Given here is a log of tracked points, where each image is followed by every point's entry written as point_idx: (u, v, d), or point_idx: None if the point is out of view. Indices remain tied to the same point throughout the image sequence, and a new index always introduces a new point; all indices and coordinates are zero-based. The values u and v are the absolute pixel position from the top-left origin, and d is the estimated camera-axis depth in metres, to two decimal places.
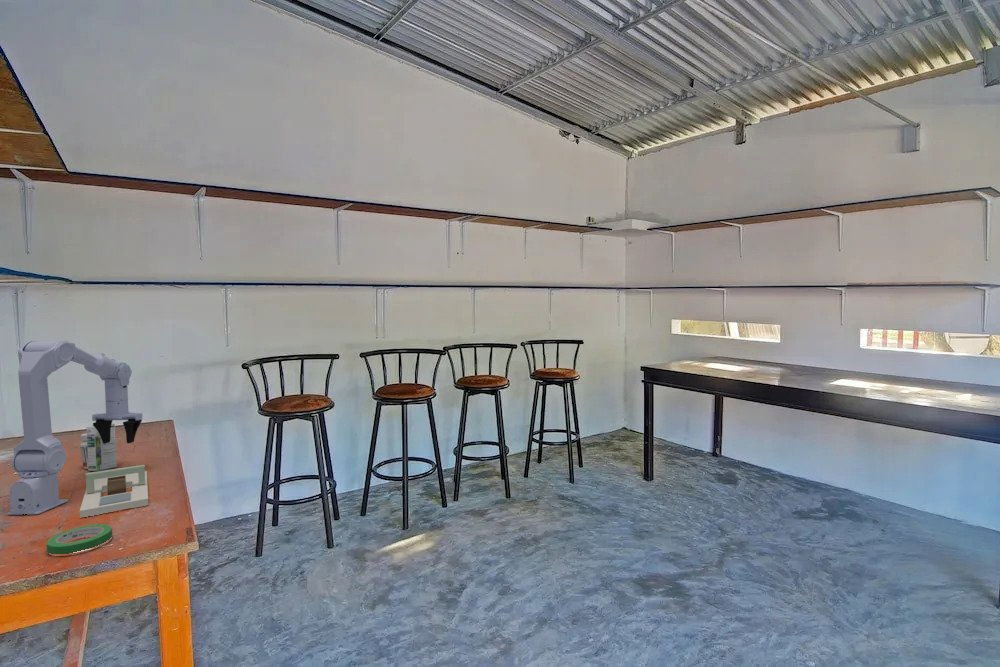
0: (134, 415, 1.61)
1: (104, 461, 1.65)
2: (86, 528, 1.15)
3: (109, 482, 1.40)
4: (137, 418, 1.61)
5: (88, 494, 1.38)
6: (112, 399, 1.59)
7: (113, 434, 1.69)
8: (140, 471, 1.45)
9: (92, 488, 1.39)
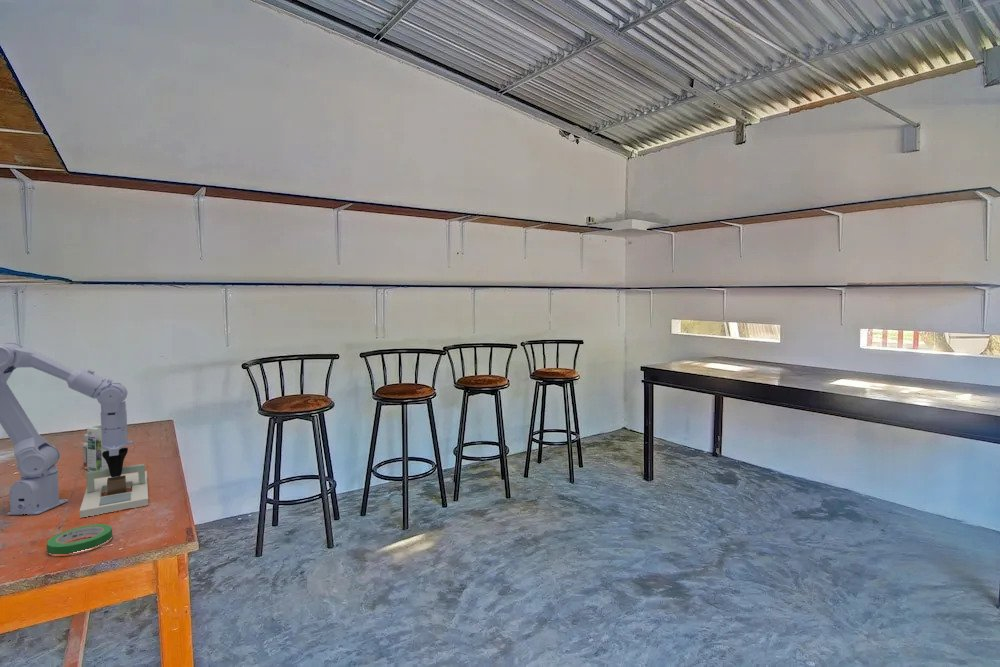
0: (108, 449, 1.36)
1: (104, 464, 1.65)
2: (86, 528, 1.15)
3: (109, 482, 1.40)
4: (109, 454, 1.35)
5: (88, 494, 1.38)
6: (101, 426, 1.39)
7: None
8: (140, 470, 1.46)
9: (92, 487, 1.40)
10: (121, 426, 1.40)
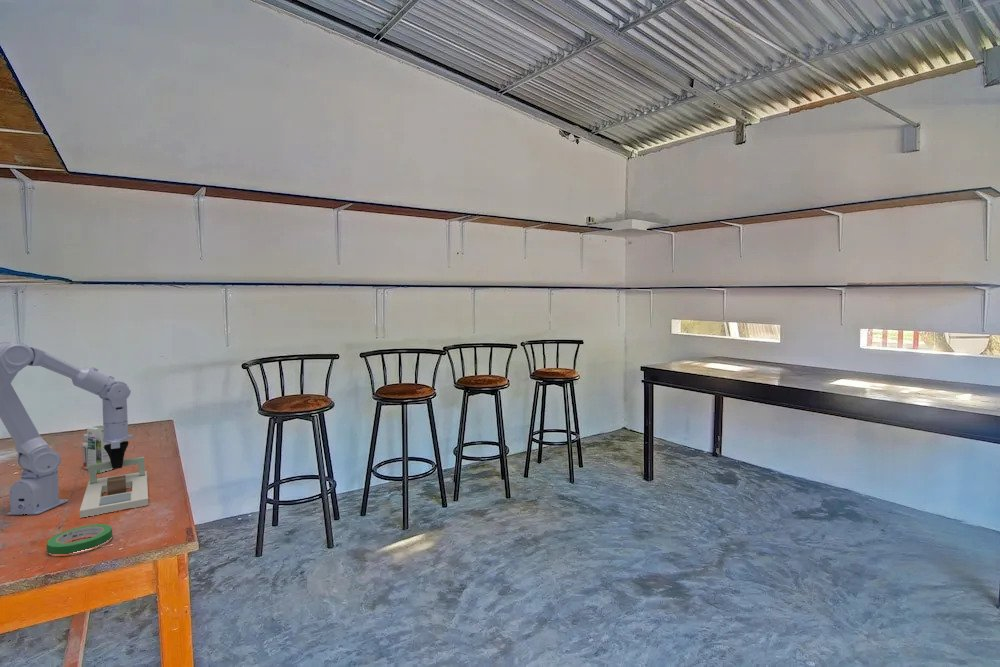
0: (110, 442, 1.43)
1: None
2: (86, 528, 1.15)
3: (109, 482, 1.40)
4: (111, 446, 1.43)
5: (88, 494, 1.38)
6: (105, 421, 1.46)
7: None
8: (140, 463, 1.53)
9: (95, 478, 1.47)
10: (126, 419, 1.50)
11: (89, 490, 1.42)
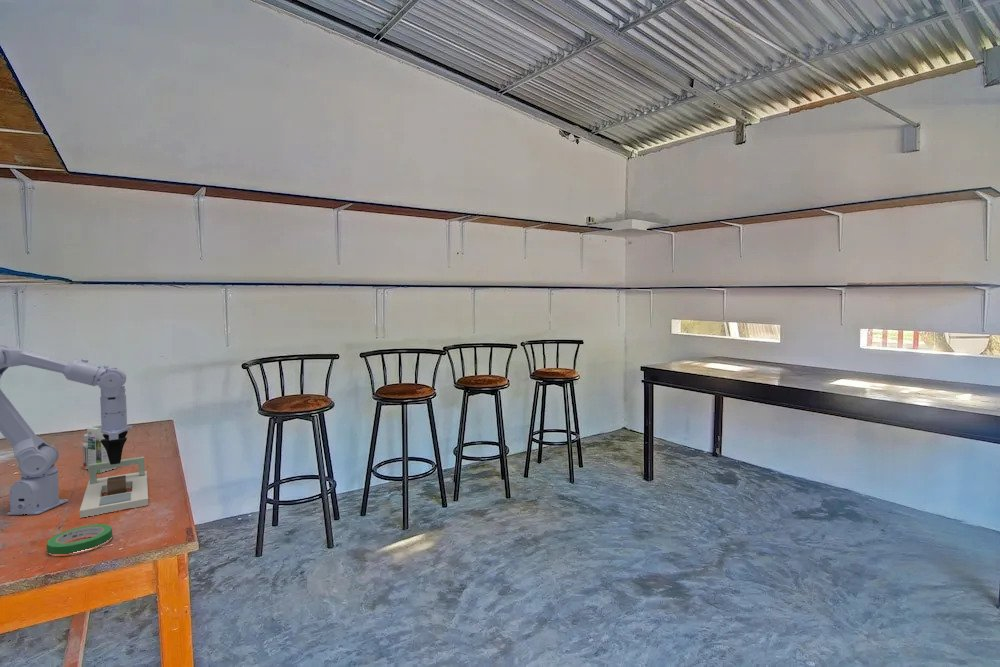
0: (108, 433, 1.36)
1: None
2: (86, 528, 1.15)
3: (109, 482, 1.40)
4: (109, 437, 1.36)
5: (88, 494, 1.38)
6: None
7: None
8: (140, 462, 1.54)
9: (95, 478, 1.47)
10: (121, 411, 1.41)
11: (89, 490, 1.42)
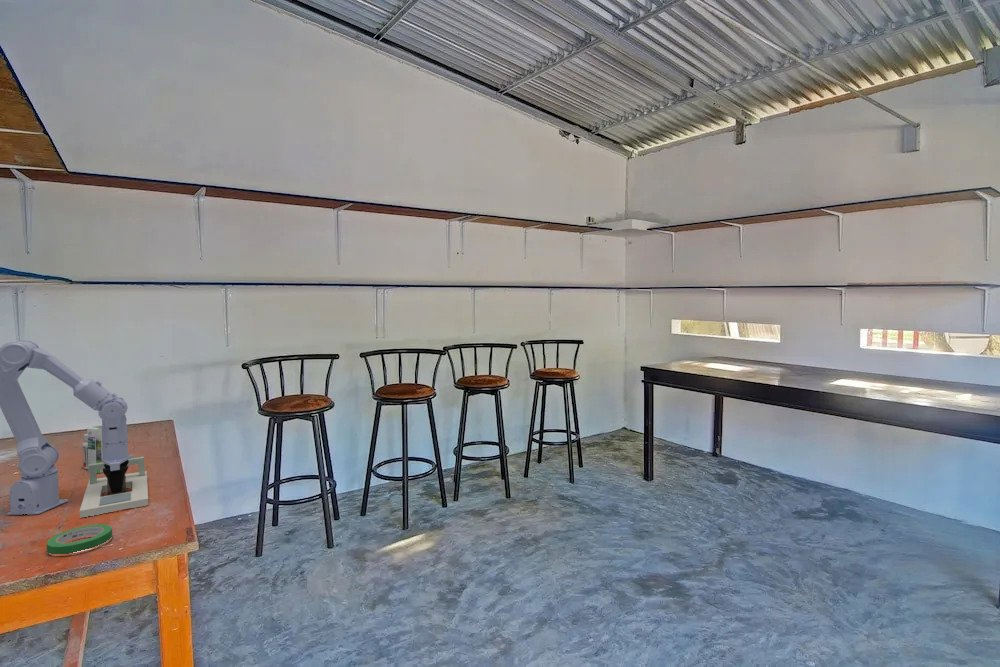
0: (109, 464, 1.37)
1: None
2: (86, 528, 1.15)
3: None
4: None
5: (88, 494, 1.38)
6: (102, 441, 1.40)
7: None
8: (140, 462, 1.54)
9: (95, 478, 1.47)
10: (122, 440, 1.41)
11: (89, 490, 1.42)
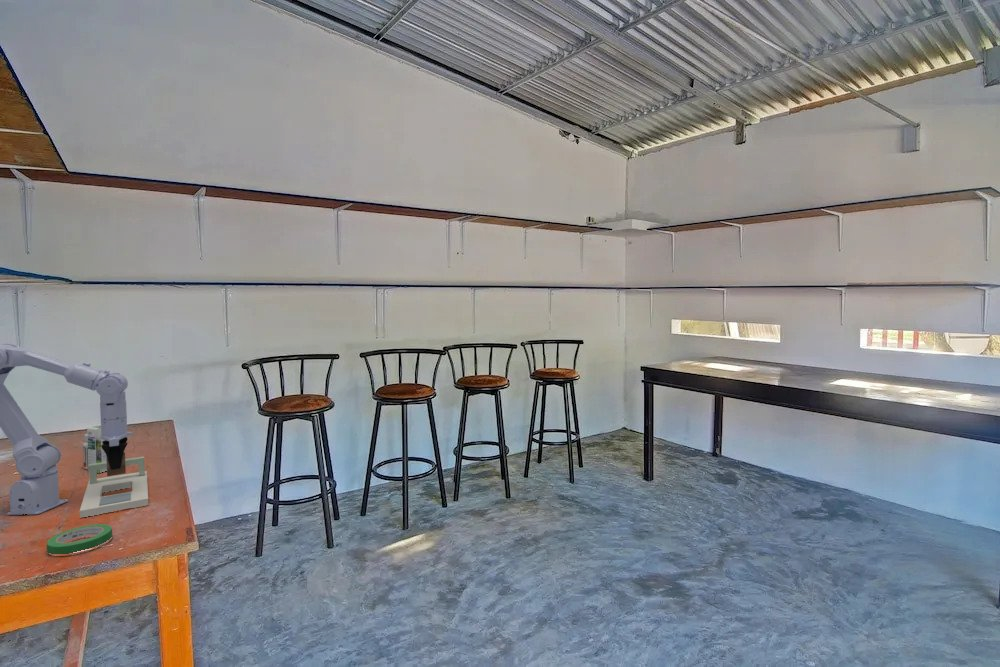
0: (109, 440, 1.35)
1: None
2: (86, 528, 1.15)
3: None
4: None
5: (88, 494, 1.38)
6: None
7: None
8: (140, 462, 1.54)
9: (95, 478, 1.47)
10: (120, 417, 1.39)
11: (89, 490, 1.42)
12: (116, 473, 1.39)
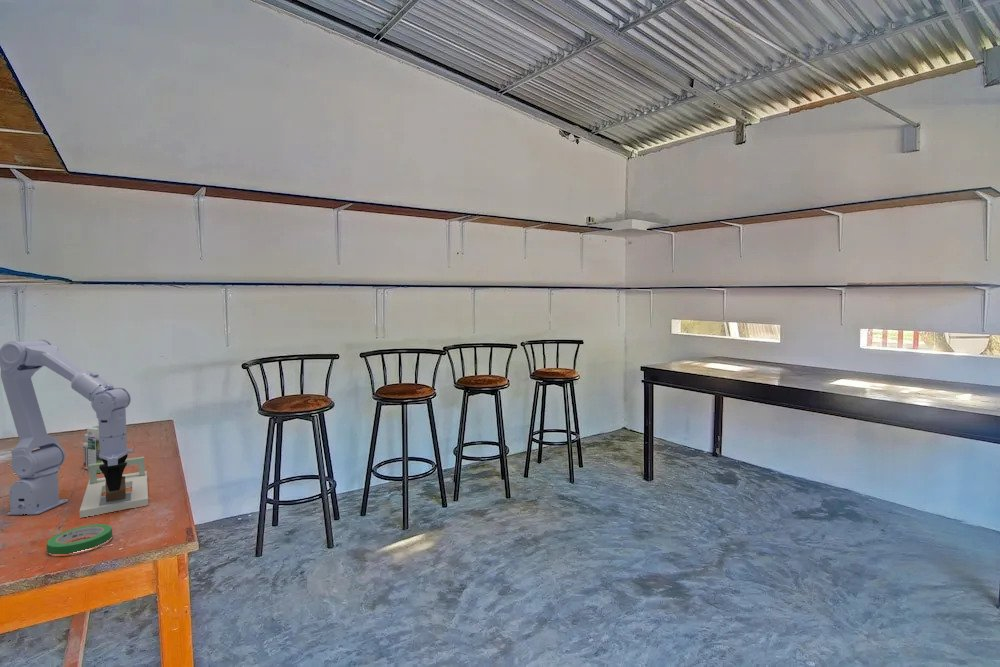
0: (107, 459, 1.28)
1: None
2: (86, 528, 1.15)
3: None
4: (108, 463, 1.28)
5: (88, 494, 1.38)
6: None
7: None
8: (140, 462, 1.54)
9: (95, 478, 1.47)
10: (114, 435, 1.31)
11: (89, 490, 1.42)
12: (115, 498, 1.33)
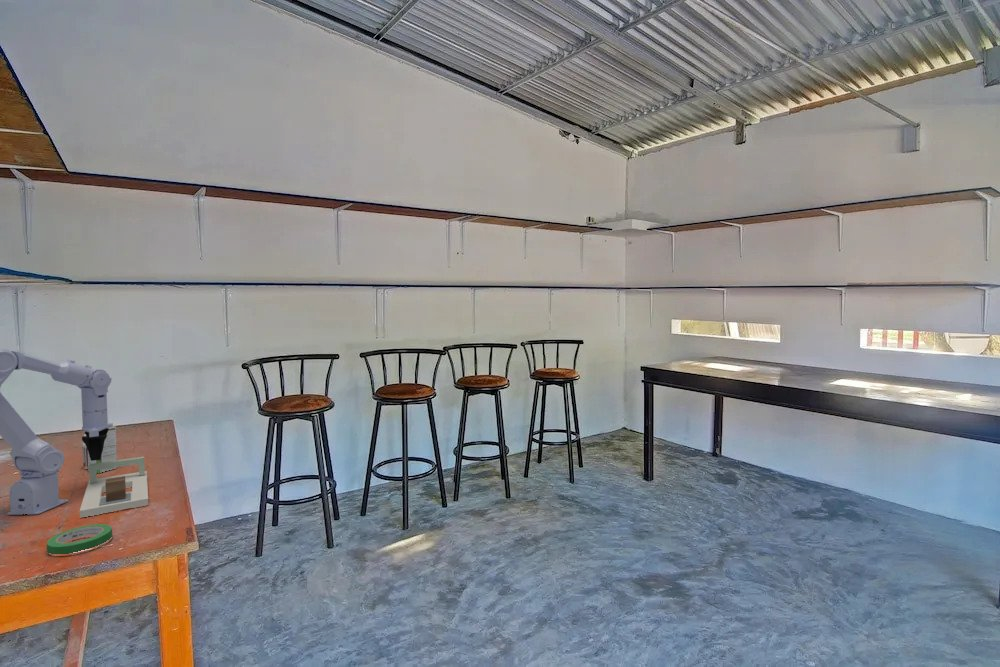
0: (89, 431, 1.42)
1: None
2: (86, 528, 1.15)
3: (107, 483, 1.32)
4: (89, 435, 1.42)
5: (88, 494, 1.38)
6: (86, 409, 1.45)
7: (114, 436, 1.68)
8: (140, 462, 1.54)
9: (95, 478, 1.47)
10: (106, 408, 1.49)
11: (89, 490, 1.42)
12: (115, 498, 1.33)
